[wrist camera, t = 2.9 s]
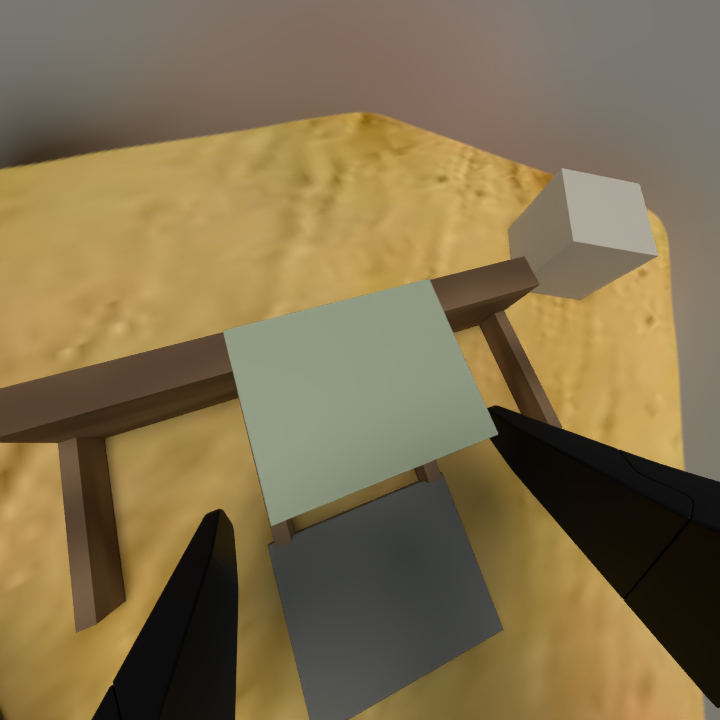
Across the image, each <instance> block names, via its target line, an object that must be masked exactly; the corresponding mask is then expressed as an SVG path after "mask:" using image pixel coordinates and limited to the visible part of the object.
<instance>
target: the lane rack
mask: <svg viewBox="0 0 720 720" xmlns="http://www.w3.org/2000/svg"><path fill="white" fill-rule="evenodd" d="M430 282H431V284H432V286H433V289H434V291H435V293H436V295H437V298H438V300H439V302H440V304H441V307H442V309H443V311H444V313H445V315H446V318H447V320H448V322H449V324H450V327H451V329H452V331H453V333H454V332H457V331H461V330H464V329H467V328H470V327H474V326H477V325H480V327H481V329H482V331H483V333H484V335H485V338H486V340H487V342H488V344H489V346H490V348H491V350H492V352H493V355H494V357H495V359H496V361H497V363H498V365H499V367H500V369H501V371H502V374H503V376H504V378H505V380H506V382H507V384H508V386H509V388H510V390H511V393H512V395H513V397H514V399H515V401H516V403H517V405H518V407H519V410H520V412H521V414H522V415H525V416H528V417H531V418H533V419H536V420H539V421H542V422H544V423H547V424H550V425H553V426H556V427H558V428H562V426H561V424H560V422H559V420H558V418H557V416H556V414H555V412H554V410H553V408H552V406H551V404H550V402H549V400H548V398H547V396H546V394H545V392H544V390H543V388H542V386H541V384H540V382H539V380H538V378H537V376H536V374H535V372H534V370H533V368H532V366H531V364H530V362H529V360H528V358H527V356H526V354H525V352H524V350H523V348H522V346H521V344H520V342H519V340H518V338H517V336H516V334H515V332H514V330H513V328H512V326H511V324H510V322H509V320H508V318H507V316H506V314H505V312H504V310H506V309H507V308H508V307H510V306H511V305H512V304H514V303H515V302H517V301H518V300H519V299H521V298H522V297H523V296H525V295H526V294H528V293H529V292H530V291H532V290H533V289H534V288H536V287H537V286H539V285H540V284H539V282H538V280H537V278H536V276H535V275H534V273H533V271H532V269H531V267H530V265H529V264H528V262H527V260H526V258H525V256H523V257H519V258H515V259H511V260H507V261H503V262H500V263H496V264H492V265H488V266H484V267H480V268H476V269H472V270H468V271H464V272H460V273H456V274H452V275H448V276H444V277H440V278H436V279H432V280H430ZM236 398H239V394H238V390H237V386H236V382H235V378H234V374H233V370H232V366H231V362H230V358H229V354H228V350H227V346H226V342H225V338H224V334H223V332H222V333H218V334H214V335H210V336H206V337H203V338H199V339H195V340H191V341H187V342H183V343H179V344H175V345H171V346H167V347H163V348H159V349H155V350H151V351H147V352H143V353H139V354H135V355H131V356H127V357H123V358H119V359H115V360H111V361H108V362H104V363H100V364H96V365H92V366H88V367H84V368H80V369H76V370H72V371H68V372H64V373H60V374H56V375H52V376H48V377H44V378H40V379H36V380H32V381H28V382H24V383H20V384H16V385H12V386H9V387H5V388H1V389H0V443H58V448H59V459H60V469H61V480H62V490H63V501H64V511H65V522H66V532H67V543H68V553H69V564H70V574H71V585H72V595H73V606H74V616H75V627H76V633H77V632H79V631H81V630H84V629H86V628H89V627H91V626H93V625H96V624H97V623H99V622H100V621H101V620H102V619H104V618H105V617H106V616H107V615H109V614H110V613H111V612H112V611H114V610H115V609H116V608H117V607H119V606H120V605H121V604H122V603H124V602H125V594H124V587H123V579H122V572H121V564H120V556H119V549H118V541H117V534H116V526H115V518H114V511H113V503H112V496H111V488H110V481H109V473H108V465H107V458H106V450H105V443H104V438H107V437H110V436H113V435H117V434H120V433H123V432H127V431H130V430H133V429H137V428H140V427H143V426H146V425H150V424H153V423H156V422H160V421H163V420H166V419H170V418H173V417H176V416H180V415H183V414H186V413H189V412H193V411H196V410H199V409H203V408H206V407H209V406H213V405H216V404H219V403H222V402H226V401H229V400H232V399H236ZM239 402H240V398H239ZM240 406H241V402H240ZM241 410H242V406H241ZM242 414H243V410H242ZM243 418H244V414H243ZM244 422H245V418H244ZM245 426H246V422H245ZM246 430H247V427H246ZM247 434H248V431H247ZM248 438H249V435H248ZM249 442H250V439H249ZM250 446H251V443H250ZM251 450H252V447H251ZM252 454H253V451H252ZM253 458H254V455H253ZM254 462H255V459H254ZM255 466H256V463H255ZM414 469H415V471H416V474H417V477H418V479H419V480H422V481H425V482H427V483H432V482H434V481H437V480H439V479H441V478H442V477H441V474H440V471H439V469H438V466H437V464H436V461H435V460H433V461H431V462H429V463H426V464H424V465H421V466H419V467H416V468H414ZM256 470H257V467H256ZM257 474H258V471H257ZM258 479H259V475H258ZM259 483H260V479H259ZM260 487H261V483H260ZM261 491H262V487H261ZM262 495H263V491H262ZM263 499H264V495H263ZM264 503H265V499H264ZM265 507H266V503H265ZM266 511H267V507H266ZM267 515H268V511H267ZM268 519H269V515H268ZM269 523H270V519H269ZM270 527H271V531H272V535H273V539H274V543H275V547H276V548H278V547H280V546H283V545H285V544H287V543H290V542H291V541H292V538H293V535H294V531H295V530H294V526H293V523H292V519H291V518H290V519H288V520H285V521H283V522H280V523H278V524H275V525H273V526H271V523H270Z"/></svg>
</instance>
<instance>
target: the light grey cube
mask: <svg viewBox="0 0 720 720" xmlns="http://www.w3.org/2000/svg"><path fill="white" fill-rule="evenodd" d="M508 234H509V246H510V259H515V258H519V257H523V256H525V258H526V260H527V262H528V264H529V265H530V267H531V269H532V271H533V273H534V275H535V276H536V278H537V280H538V282H539V284H540V285H539V286H537V287H536V288H534V289H533V290H532V291H530V292H531V293H538V294H544V295H551V296H557V297H564V298H570V299H577V300H580V299H582V298H584V297H586V296H588V295H589V294H591V293H593V292H595V291H596V290H598V289H600V288H602V287H604V286H605V285H607V284H609V283H611V282H613V281H614V280H616V279H618V278H620V277H621V276H623V275H625V274H627V273H629V272H630V271H632V270H634V269H636V268H638V267H639V266H641V265H643V264H645V263H646V262H648V261H650V260H652V259H654V258H655V257H657V256H658V253H657V249H656V246H655V242H654V238H653V234H652V230H651V226H650V222H649V218H648V215H647V211H646V207H645V203H644V199H643V195H642V191H641V188H640V184H637V183H632V182H627V181H623V180H617V179H613V178H608V177H603V176H597V175H593V174H587V173H582V172H578V171H573V170H568V169H563V168H561V170H560V171H559V172H558V173H557V174H556V175H555V176H554V178H553V179H552V180H551V181H550V182H549V183H548V184H547V186H546V187H545V188H544V189H543V190H542V191H541V192H540V194H539V195H538V196H537V197H536V198H535V199H534V201H533V202H532V203H531V204H530V205H529V206H528V207H527V209H526V210H525V211H524V212H523V213H522V214H521V215H520V217H519V218H518V219H517V220H516V221H515V222H514V223H513V225H512V226H511V227H510V228H509V229H508Z"/></svg>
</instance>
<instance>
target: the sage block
mask: <svg viewBox="0 0 720 720" xmlns="http://www.w3.org/2000/svg"><path fill="white" fill-rule="evenodd" d="M223 334H224V338H225V342H226V346H227V350H228V354H229V358H230V362H231V366H232V370H233V374H234V378H235V382H236V386H237V390H238V394H239V398H240V402H241V406H242V410H243V414H244V418H245V422H246V427H247V431H248V435H249V439H250V443H251V447H252V451H253V455H254V459H255V463H256V467H257V471H258V475H259V479H260V483H261V487H262V491H263V495H264V499H265V503H266V507H267V511H268V515H269V519H270V523H271V526H273V525H275V524H278V523H280V522H283V521H285V520H288V519H290V518H293V517H295V516H298V515H300V514H303V513H305V512H307V511H310V510H312V509H315V508H317V507H320V506H322V505H325V504H327V503H330V502H332V501H335V500H337V499H340V498H342V497H345V496H347V495H349V494H352V493H354V492H357V491H359V490H362V489H364V488H367V487H369V486H372V485H374V484H377V483H379V482H382V481H384V480H387V479H389V478H391V477H394V476H396V475H399V474H401V473H404V472H406V471H409V470H411V469H414V468H416V467H419V466H421V465H424V464H426V463H429V462H431V461H433V460H436V459H438V458H441V457H443V456H446V455H448V454H451V453H453V452H456V451H458V450H461V449H463V448H466V447H468V446H471V445H473V444H475V443H478V442H480V441H483V440H485V439H488V438H490V437H493V436H495V435H498V432H497V430H496V427H495V425H494V423H493V421H492V419H491V416H490V414H489V412H488V410H487V407H486V405H485V403H484V401H483V398H482V396H481V394H480V392H479V389H478V387H477V385H476V383H475V380H474V378H473V376H472V374H471V371H470V369H469V367H468V365H467V363H466V360H465V358H464V356H463V354H462V351H461V349H460V347H459V345H458V342H457V340H456V338H455V336H454V333H453V331H452V329H451V327H450V324H449V322H448V320H447V318H446V315H445V313H444V311H443V309H442V307H441V304H440V302H439V300H438V298H437V295H436V293H435V291H434V289H433V286H432V284H431V282H430V280H429V279H427V280H423V281H419V282H415V283H411V284H407V285H403V286H399V287H395V288H391V289H387V290H383V291H379V292H375V293H371V294H367V295H363V296H359V297H355V298H351V299H347V300H343V301H339V302H335V303H331V304H327V305H323V306H319V307H315V308H311V309H307V310H303V311H299V312H295V313H291V314H287V315H283V316H279V317H275V318H272V319H268V320H264V321H260V322H256V323H252V324H248V325H244V326H240V327H236V328H232V329H228V330H224V331H223Z"/></svg>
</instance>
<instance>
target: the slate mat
mask: <svg viewBox="0 0 720 720" xmlns="http://www.w3.org/2000/svg"><path fill="white" fill-rule="evenodd" d="M440 474H441V477H442V478H441V479H439V480H437V481H434V482H432V483H427V482H425V481H422V480H420V481H418V482H415V483H413V484H410V485H408V486H406V487H403V488H401V489H398V490H396V491H394V492H391V493H389V494H386V495H384V496H382V497H379V498H377V499H374V500H372V501H370V502H367V503H365V504H362V505H360V506H358V507H355V508H353V509H350V510H348V511H346V512H343V513H341V514H338V515H336V516H334V517H331V518H329V519H326V520H324V521H322V522H319V523H317V524H314V525H312V526H310V527H307V528H305V529H302V530H300V531H298V532H295V533H294V535H293V538H292V541H291V542H290V543H287V544H285V545H283V546H280V547H278V548H276V547H275V543H274V542H271V543H269V544H268V549H269V553H270V557H271V561H272V565H273V569H274V574H275V578H276V582H277V586H278V590H279V594H280V598H281V603H282V607H283V611H284V615H285V619H286V623H287V627H288V632H289V636H290V640H291V644H292V648H293V652H294V656H295V661H296V665H297V669H298V673H299V677H300V681H301V685H302V690H303V694H304V698H305V702H306V706H307V710H308V714H309V719H310V720H348V719H350V718H352V717H354V716H355V715H357V714H359V713H361V712H362V711H364V710H366V709H367V708H369V707H371V706H373V705H374V704H376V703H378V702H379V701H381V700H383V699H385V698H386V697H388V696H390V695H392V694H393V693H395V692H397V691H398V690H400V689H402V688H404V687H405V686H407V685H409V684H410V683H412V682H414V681H416V680H417V679H419V678H421V677H423V676H424V675H426V674H428V673H429V672H431V671H433V670H435V669H436V668H438V667H440V666H441V665H443V664H445V663H447V662H448V661H450V660H452V659H454V658H455V657H457V656H459V655H460V654H462V653H464V652H466V651H467V650H469V649H471V648H472V647H474V646H476V645H478V644H479V643H481V642H483V641H485V640H486V639H488V638H490V637H491V636H493V635H495V634H497V633H498V632H500V631H502V630H503V628H502V625H501V622H500V620H499V617H498V615H497V612H496V610H495V607H494V604H493V602H492V599H491V597H490V594H489V592H488V589H487V586H486V584H485V581H484V579H483V576H482V574H481V571H480V568H479V566H478V563H477V561H476V558H475V556H474V553H473V551H472V548H471V545H470V543H469V540H468V538H467V535H466V533H465V530H464V527H463V525H462V522H461V520H460V517H459V515H458V512H457V509H456V507H455V504H454V502H453V499H452V497H451V494H450V492H449V489H448V486H447V484H446V481H445V479H444V476H443V474H442V473H441V472H440Z"/></svg>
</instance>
